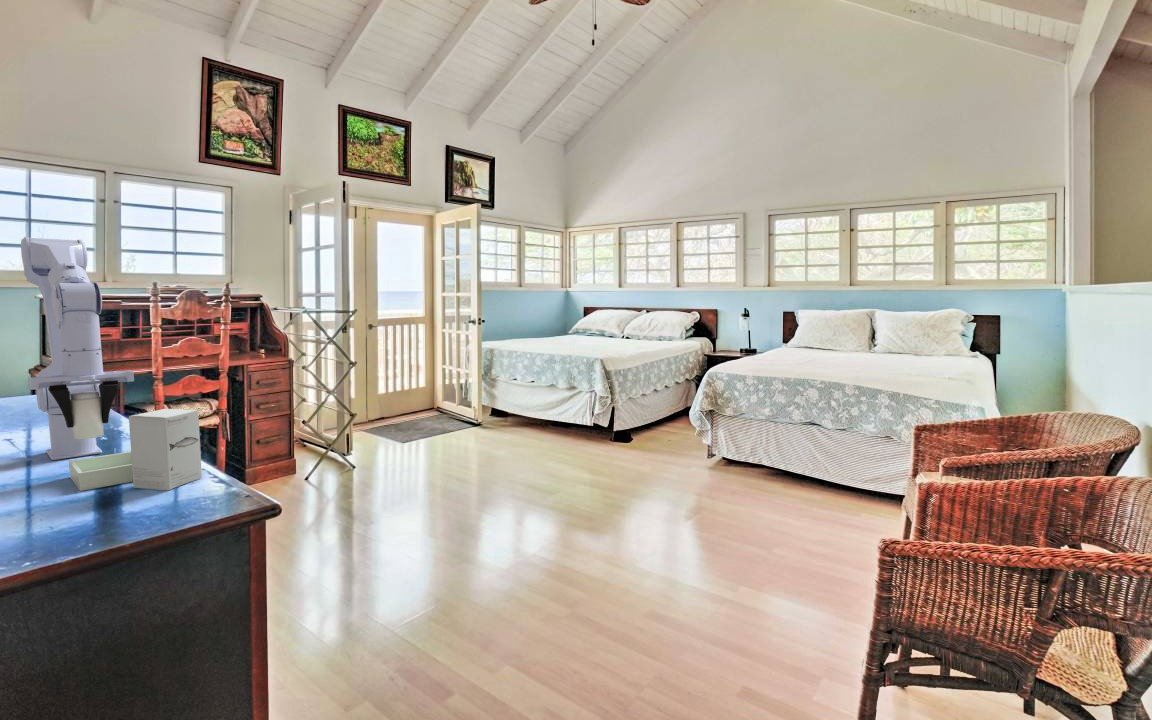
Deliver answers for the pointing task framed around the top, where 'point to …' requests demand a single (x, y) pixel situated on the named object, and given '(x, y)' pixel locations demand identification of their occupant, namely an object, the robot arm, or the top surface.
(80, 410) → the shaker
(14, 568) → the top surface
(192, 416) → the supplement box
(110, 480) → the tray
